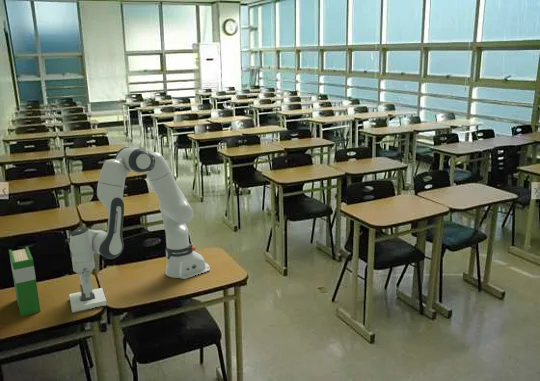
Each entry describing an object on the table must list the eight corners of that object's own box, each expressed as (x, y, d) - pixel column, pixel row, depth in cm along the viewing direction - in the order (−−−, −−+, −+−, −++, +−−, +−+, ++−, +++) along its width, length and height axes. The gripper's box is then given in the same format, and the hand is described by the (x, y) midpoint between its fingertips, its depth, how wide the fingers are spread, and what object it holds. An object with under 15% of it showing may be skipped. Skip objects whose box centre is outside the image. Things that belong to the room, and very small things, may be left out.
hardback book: (16, 299, 210) (8, 249, 204) (34, 295, 214) (27, 246, 208) (21, 316, 196) (12, 263, 190) (40, 311, 200) (32, 259, 194)
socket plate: (102, 292, 216) (102, 287, 216) (106, 305, 204) (106, 300, 203) (69, 299, 210) (69, 294, 210) (72, 313, 198) (71, 307, 197)
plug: (92, 295, 210) (90, 281, 208) (93, 299, 206) (91, 285, 204) (81, 297, 208) (79, 283, 206) (82, 301, 204) (80, 287, 202)
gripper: (94, 272, 195) (97, 302, 198) (89, 255, 213) (92, 283, 216) (77, 275, 192) (81, 305, 196) (74, 258, 210) (77, 286, 214)
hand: (87, 294), depth 206 cm, fingers closed on plug, 4 cm apart
